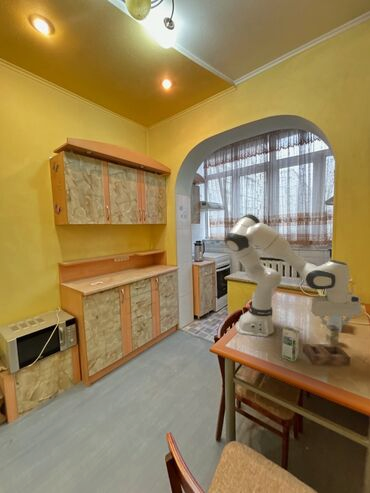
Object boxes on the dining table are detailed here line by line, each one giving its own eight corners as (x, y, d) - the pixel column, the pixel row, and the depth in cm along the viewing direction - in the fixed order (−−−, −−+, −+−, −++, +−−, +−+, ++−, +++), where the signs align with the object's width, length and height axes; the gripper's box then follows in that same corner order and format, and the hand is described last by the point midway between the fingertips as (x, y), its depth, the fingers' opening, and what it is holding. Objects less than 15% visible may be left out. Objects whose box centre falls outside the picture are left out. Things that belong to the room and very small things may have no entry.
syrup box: (281, 357, 106) (282, 329, 104) (286, 351, 110) (287, 324, 108) (294, 362, 102) (295, 333, 100) (298, 356, 106) (299, 328, 104)
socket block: (312, 364, 101) (312, 356, 100) (302, 351, 110) (303, 343, 110) (349, 365, 99) (350, 357, 98) (336, 351, 109) (337, 344, 108)
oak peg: (330, 345, 115) (330, 328, 114) (325, 340, 119) (326, 325, 118) (338, 345, 114) (339, 329, 113) (333, 340, 118) (334, 325, 117)
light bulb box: (329, 322, 138) (330, 306, 137) (342, 325, 134) (344, 308, 133) (327, 329, 130) (328, 312, 129) (341, 332, 126) (342, 315, 125)
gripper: (315, 298, 98) (314, 327, 100) (365, 298, 96) (362, 328, 98) (309, 293, 104) (308, 320, 106) (355, 293, 102) (353, 321, 104)
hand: (334, 324), depth 102 cm, fingers open, 8 cm apart
